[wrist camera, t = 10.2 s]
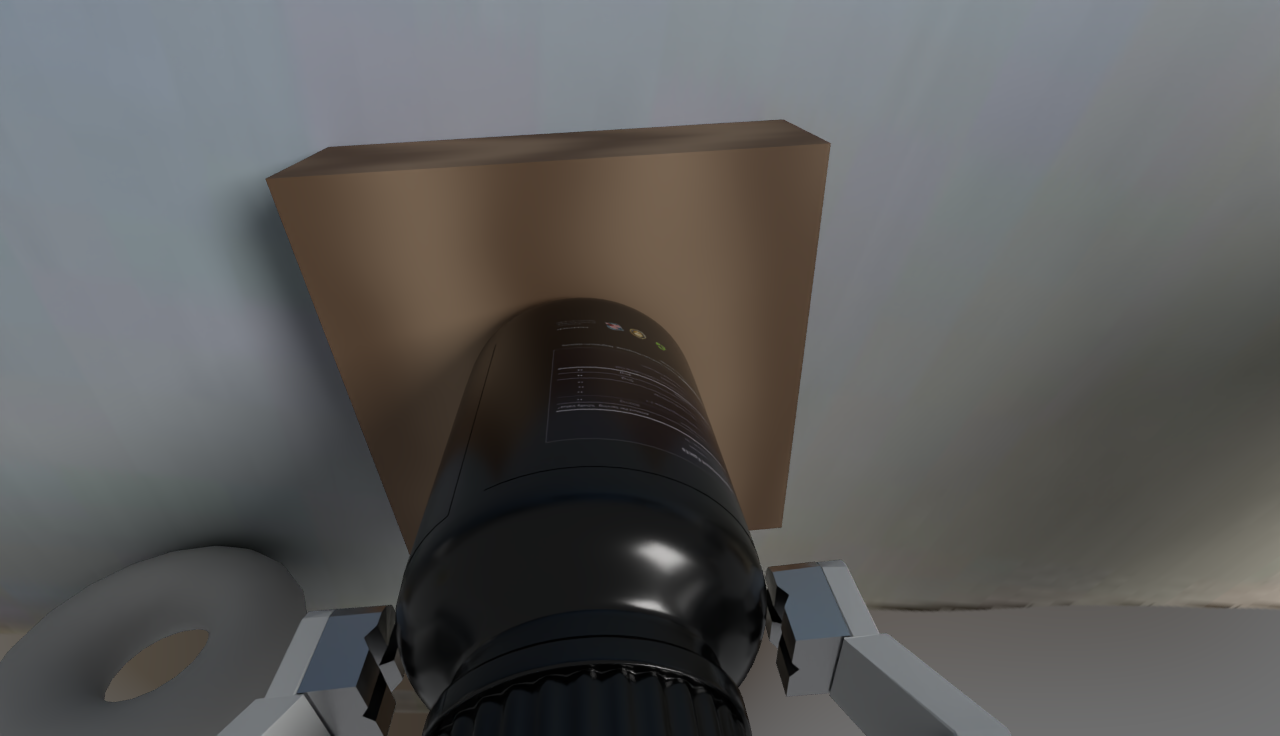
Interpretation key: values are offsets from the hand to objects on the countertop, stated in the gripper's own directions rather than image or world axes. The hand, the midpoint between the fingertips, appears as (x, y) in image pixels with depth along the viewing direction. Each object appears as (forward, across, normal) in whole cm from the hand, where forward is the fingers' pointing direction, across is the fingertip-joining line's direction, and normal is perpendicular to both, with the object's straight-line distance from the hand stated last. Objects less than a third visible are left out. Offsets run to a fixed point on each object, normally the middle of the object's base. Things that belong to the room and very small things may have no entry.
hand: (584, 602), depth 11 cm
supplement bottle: (+8, 0, 0) cm, 8 cm away
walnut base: (+12, 0, 0) cm, 12 cm away
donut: (+12, +17, +10) cm, 23 cm away
